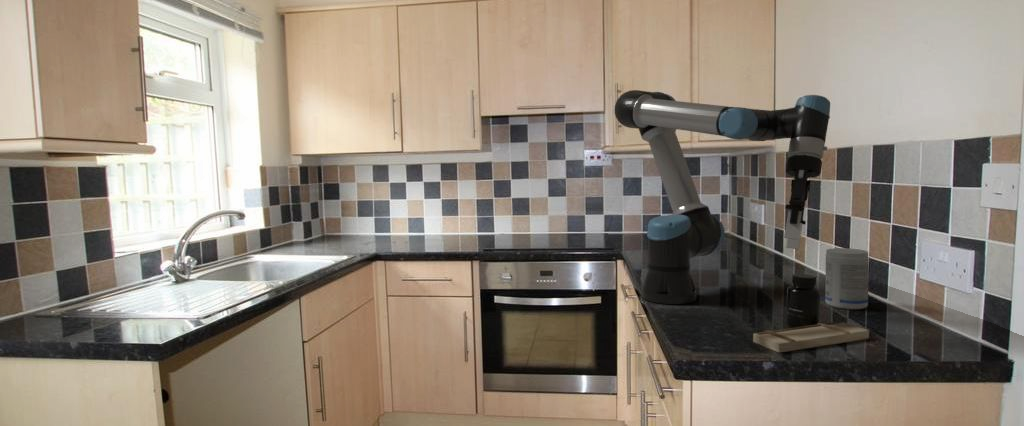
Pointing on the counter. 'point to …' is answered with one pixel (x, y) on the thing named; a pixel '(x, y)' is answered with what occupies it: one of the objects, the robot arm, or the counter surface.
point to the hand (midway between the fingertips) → (791, 243)
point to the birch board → (810, 336)
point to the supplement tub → (847, 278)
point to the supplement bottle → (802, 301)
